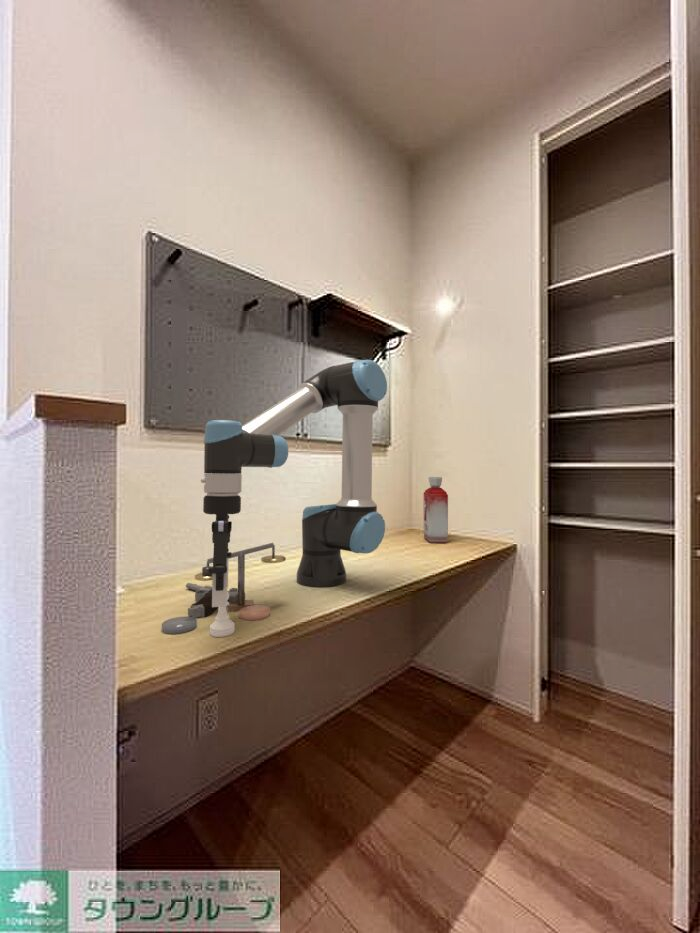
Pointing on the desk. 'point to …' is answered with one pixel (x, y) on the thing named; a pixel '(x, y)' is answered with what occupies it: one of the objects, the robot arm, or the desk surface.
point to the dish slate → (179, 625)
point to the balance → (241, 573)
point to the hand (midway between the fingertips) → (220, 596)
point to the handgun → (206, 600)
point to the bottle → (435, 512)
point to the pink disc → (254, 612)
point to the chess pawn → (222, 623)
